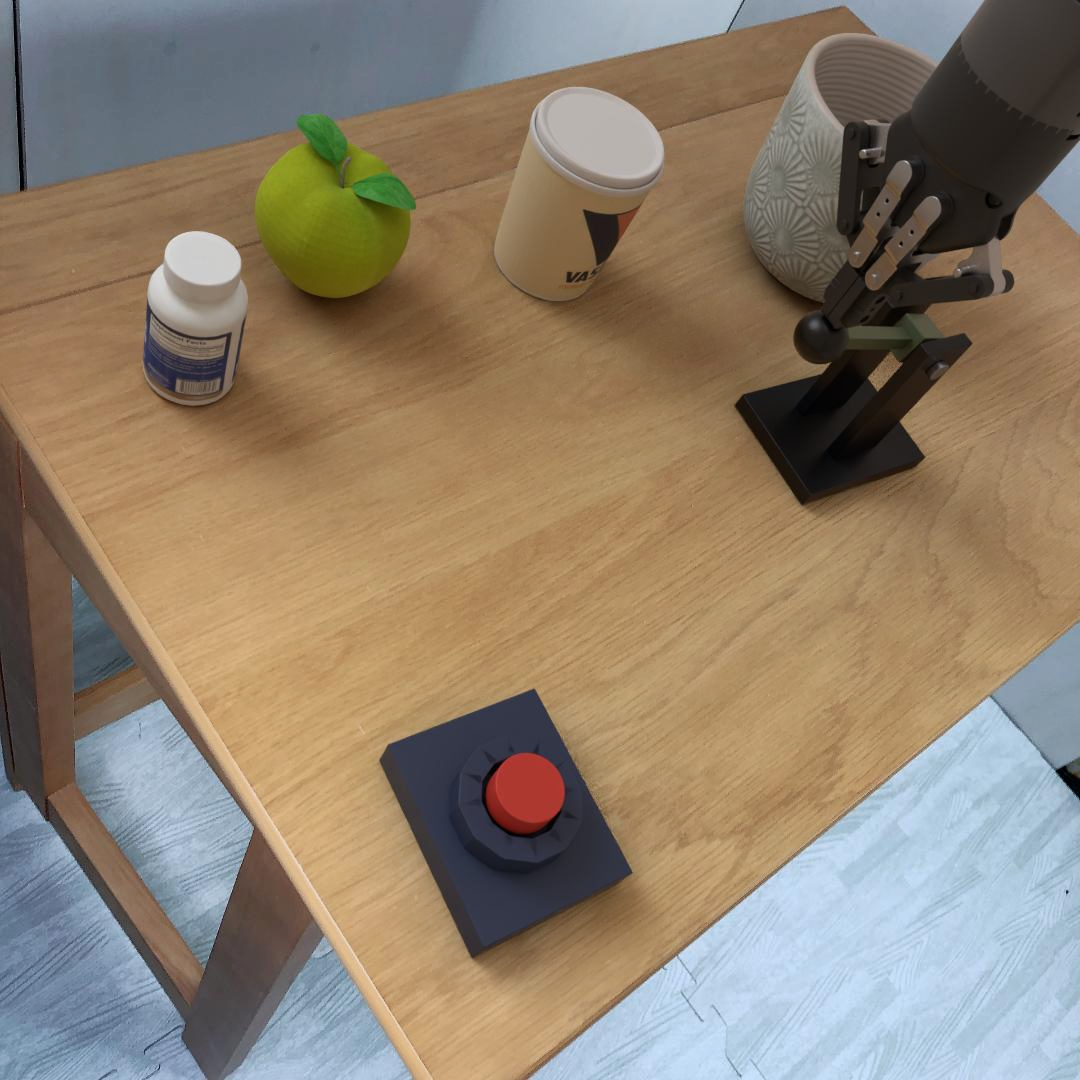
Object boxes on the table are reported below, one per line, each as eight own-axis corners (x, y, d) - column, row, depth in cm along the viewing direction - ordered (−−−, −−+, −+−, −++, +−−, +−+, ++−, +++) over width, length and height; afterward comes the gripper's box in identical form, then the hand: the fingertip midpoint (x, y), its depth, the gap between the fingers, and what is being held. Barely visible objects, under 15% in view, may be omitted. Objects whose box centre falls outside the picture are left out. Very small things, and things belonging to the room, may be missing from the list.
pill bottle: (178, 324, 71) (190, 205, 63) (252, 370, 71) (274, 257, 63) (122, 376, 68) (128, 257, 60) (200, 424, 68) (216, 311, 60)
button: (565, 818, 58) (578, 806, 57) (505, 846, 56) (516, 834, 55) (532, 755, 59) (544, 742, 58) (473, 780, 58) (483, 767, 56)
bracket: (801, 505, 80) (907, 391, 70) (734, 405, 83) (825, 281, 73) (916, 467, 86) (1028, 356, 76) (849, 374, 89) (948, 256, 79)
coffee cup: (561, 331, 82) (626, 204, 72) (457, 253, 82) (508, 117, 73) (624, 270, 87) (692, 144, 78) (526, 198, 88) (581, 64, 78)
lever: (802, 376, 68) (839, 339, 66) (773, 335, 69) (809, 297, 67) (919, 372, 78) (955, 340, 75) (892, 336, 79) (927, 303, 77)
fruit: (321, 205, 80) (349, 86, 72) (414, 293, 79) (453, 181, 71) (217, 254, 75) (235, 131, 67) (315, 348, 73) (345, 234, 66)
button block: (617, 884, 61) (647, 861, 58) (471, 958, 56) (495, 938, 53) (522, 704, 65) (545, 673, 62) (378, 760, 60) (395, 730, 57)
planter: (684, 179, 96) (772, 18, 84) (848, 192, 103) (951, 44, 91) (756, 337, 88) (864, 185, 76) (927, 339, 95) (1051, 200, 83)
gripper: (899, -24, 54) (731, 243, 68) (1075, 176, 50) (856, 419, 63) (1000, -25, 58) (821, 228, 72) (1171, 161, 53) (945, 393, 67)
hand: (837, 317), depth 67 cm, fingers closed
